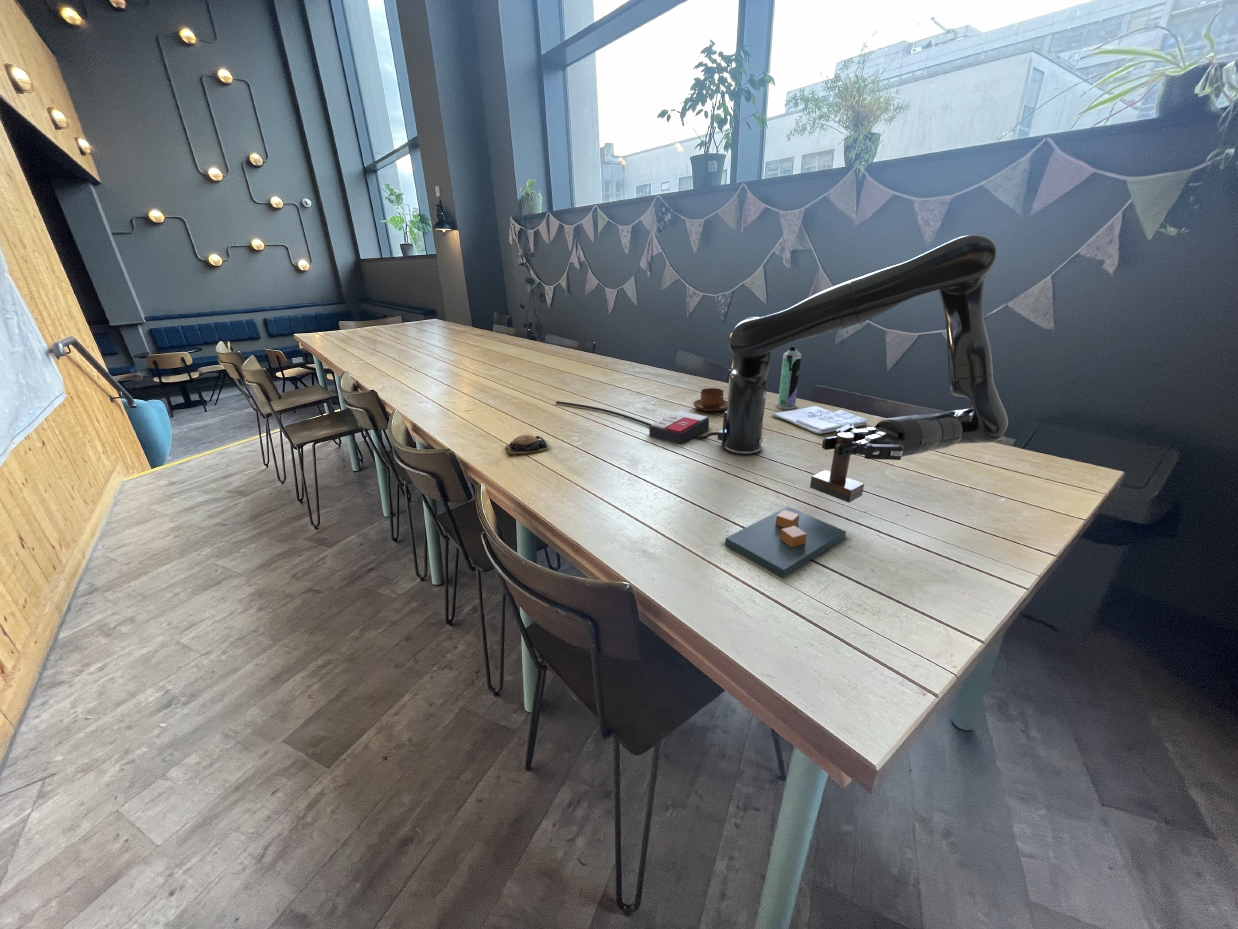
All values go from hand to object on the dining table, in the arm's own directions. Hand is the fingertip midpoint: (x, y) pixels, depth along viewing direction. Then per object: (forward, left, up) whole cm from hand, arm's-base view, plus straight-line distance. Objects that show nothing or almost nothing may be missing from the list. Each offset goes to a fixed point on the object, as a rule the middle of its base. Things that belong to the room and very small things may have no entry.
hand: (830, 447), depth 85 cm
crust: (+3, -13, -13) cm, 19 cm away
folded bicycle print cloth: (-33, +52, -15) cm, 63 cm away
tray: (+1, -12, -15) cm, 19 cm away
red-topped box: (-53, +13, -15) cm, 56 cm away
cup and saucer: (-63, +37, -15) cm, 74 cm away
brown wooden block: (-1, -9, -13) cm, 16 cm away
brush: (+1, +3, -10) cm, 10 cm away
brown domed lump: (-71, -27, -15) cm, 77 cm away
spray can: (-48, +57, -15) cm, 76 cm away
